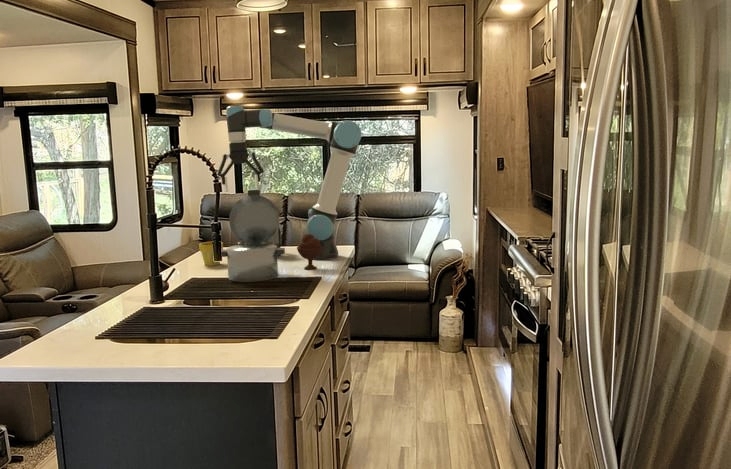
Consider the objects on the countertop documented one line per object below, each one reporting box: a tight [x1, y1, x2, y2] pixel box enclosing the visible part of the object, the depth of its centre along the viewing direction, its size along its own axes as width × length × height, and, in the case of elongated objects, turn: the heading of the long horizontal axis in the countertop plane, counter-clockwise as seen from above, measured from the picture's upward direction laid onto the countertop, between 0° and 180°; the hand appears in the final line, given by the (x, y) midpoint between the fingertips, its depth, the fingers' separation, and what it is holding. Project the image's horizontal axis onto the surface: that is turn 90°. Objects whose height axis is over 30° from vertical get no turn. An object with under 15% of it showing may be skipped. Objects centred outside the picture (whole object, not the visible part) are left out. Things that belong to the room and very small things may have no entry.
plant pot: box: [198, 241, 224, 267], centre depth 278 cm, size 10×10×10 cm
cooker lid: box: [228, 189, 280, 245], centre depth 262 cm, size 21×24×4 cm
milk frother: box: [264, 227, 282, 258], centre depth 298 cm, size 14×16×15 cm
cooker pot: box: [221, 243, 286, 283], centre depth 250 cm, size 26×20×12 cm
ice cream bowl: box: [296, 233, 323, 271], centre depth 262 cm, size 11×11×15 cm
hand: (242, 190), depth 271 cm, fingers open, 13 cm apart
